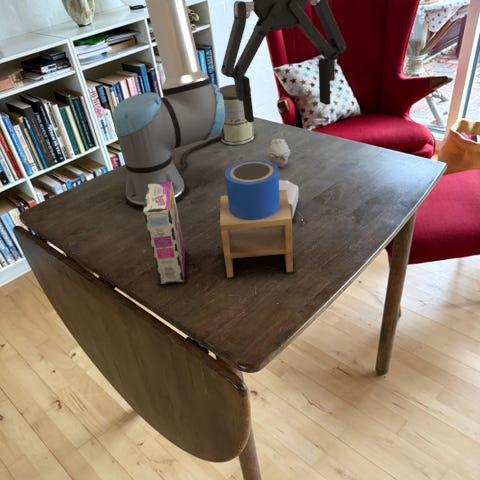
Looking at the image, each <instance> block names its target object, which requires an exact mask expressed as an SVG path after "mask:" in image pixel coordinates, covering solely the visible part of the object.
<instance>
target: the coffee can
mask: <svg viewBox="0 0 480 480" xmlns="http://www.w3.org/2000/svg"><path fill="white" fill-rule="evenodd" d="M218 88H219V89H220V93H221V94H222V96H223V100H224V105H225V120H224V125H223V128H222V130H221V131H220V136H221V137H222V139H220V141H221V142H222V143H224V144H226V145H232V146H238V145H244V144H247V143H249V142H251V141H252V140H254V138H255V134H254V133H255V132H254V122H251V123H249V122H248V121H247V120H246V119H245V115H244V107H243V101H239V100H238V99H237V97H236V90H235V83H234V84H228V85H224V86H222V87H218ZM250 90H251V91H252V88H251V87H250Z"/></svg>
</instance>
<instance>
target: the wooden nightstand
mask: <svg viewBox="0 0 480 480" xmlns="http://www.w3.org/2000/svg"><path fill="white" fill-rule="evenodd" d="M279 197H280V207H279V209H278V211H277V212H276V213H274V214H273V215H271V216H269V217H266V218H263V219H257V220H245V219H240V218H237V217H235V216H233V215H232V214H231V213H230V211H229V203H228V195H227V194H226V195H220V199H219V200H220V203H219V204H220V205H219V206H220V207H219V208H220V210H219V211H220V212H219V227H220V234H221V235H220V236H221V242H222V249H223V257H224V264H225V269H226V271H225V272H226V278H233V277H234V259H240V258H241V259H242V258H250V257H251V258H252V257H263V256H273V255H283V259H284V263H285V271H286V273H292V272H294V268H293V265H294V263H293V219H292V217H291V212H290V207H289V202H288V198H287V193H286V190H279Z"/></svg>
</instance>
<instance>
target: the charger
mask: <svg viewBox="0 0 480 480" xmlns="http://www.w3.org/2000/svg"><path fill="white" fill-rule="evenodd" d="M279 190H286V193H287V198H288V202H289V207H290V212H291V217H292V220H293V219H294V215H295V212H296V208H297V206H298V202H299V186H298V185H297V184H295V183H292V182H291V181H289V179H286V180H282V179H279Z"/></svg>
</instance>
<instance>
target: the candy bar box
mask: <svg viewBox="0 0 480 480" xmlns="http://www.w3.org/2000/svg"><path fill="white" fill-rule="evenodd" d="M177 207H178V206H177V201H175V196H174V191H173V186H172V182H164V183H156V184H148V188H147V194H146V199H145V204H144V209H143V210H142V211H143V212H142V213H143V216H144V219H145V224H146V229H147V232H148V236H149V240H150V244H151V248H152V252H153V256H154V260H155V263H156V269H157V273H158V276H159V280H160V284H161V285H165V284H176V283H178V284H179V283H184V282H185V262H186V249H185V244H184V243H185V242H184V239H183V233H182V229H181V222H180V219H179V213H178V208H177Z"/></svg>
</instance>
